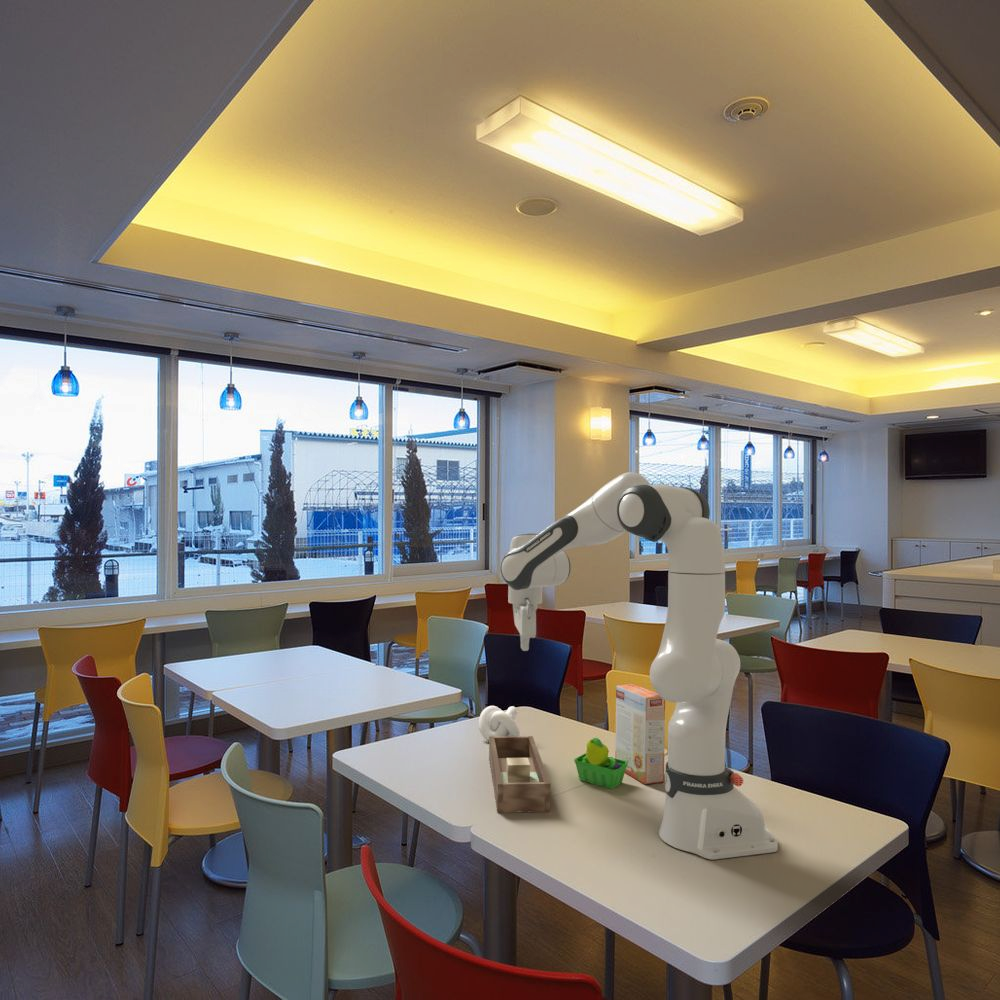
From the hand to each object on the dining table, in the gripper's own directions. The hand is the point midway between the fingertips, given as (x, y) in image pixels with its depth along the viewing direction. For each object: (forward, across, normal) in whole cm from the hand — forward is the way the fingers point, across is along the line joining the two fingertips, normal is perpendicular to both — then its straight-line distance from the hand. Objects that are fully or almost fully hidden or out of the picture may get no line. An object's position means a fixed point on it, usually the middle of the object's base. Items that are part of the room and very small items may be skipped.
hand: (524, 649), depth 189 cm
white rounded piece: (+29, +21, +4) cm, 36 cm away
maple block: (+26, -20, +3) cm, 33 cm away
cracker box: (+29, -9, -28) cm, 42 cm away
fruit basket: (+29, -14, -17) cm, 37 cm away
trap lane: (+29, -14, +3) cm, 32 cm away
